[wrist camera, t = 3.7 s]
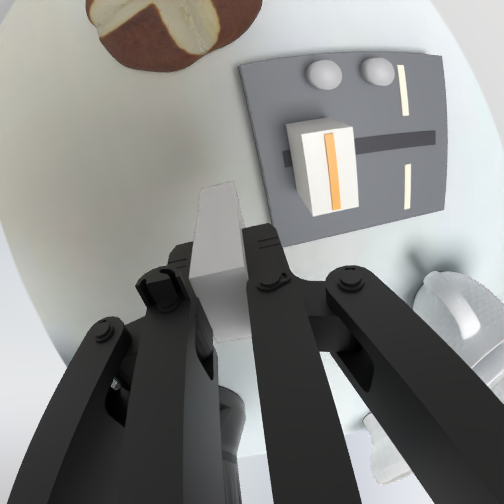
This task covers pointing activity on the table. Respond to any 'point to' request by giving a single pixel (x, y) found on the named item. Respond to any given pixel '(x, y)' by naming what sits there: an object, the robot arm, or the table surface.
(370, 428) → the cup
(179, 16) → the bread
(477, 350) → the mug
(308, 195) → the fader cap
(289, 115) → the console
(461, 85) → the table surface
